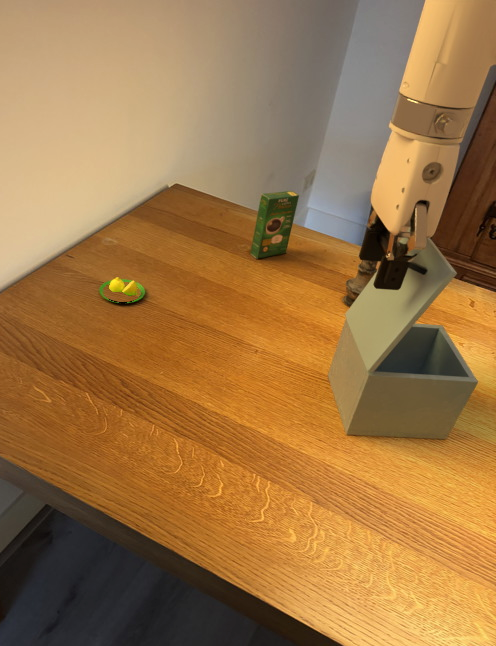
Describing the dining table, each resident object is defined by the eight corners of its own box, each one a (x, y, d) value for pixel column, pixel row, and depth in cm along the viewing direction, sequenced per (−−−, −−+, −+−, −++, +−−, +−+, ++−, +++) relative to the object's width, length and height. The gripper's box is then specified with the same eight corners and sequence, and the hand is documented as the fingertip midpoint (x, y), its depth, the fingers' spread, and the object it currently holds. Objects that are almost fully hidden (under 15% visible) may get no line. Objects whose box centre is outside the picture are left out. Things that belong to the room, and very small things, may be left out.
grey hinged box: (416, 380, 87) (442, 325, 80) (446, 439, 77) (478, 381, 71) (327, 375, 86) (345, 318, 79) (345, 434, 76) (368, 375, 69)
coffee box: (279, 247, 118) (291, 188, 110) (287, 253, 116) (300, 194, 108) (249, 253, 114) (259, 193, 106) (257, 260, 113) (268, 198, 104)
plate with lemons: (150, 286, 100) (150, 273, 98) (137, 309, 94) (138, 295, 92) (107, 278, 100) (107, 265, 99) (92, 300, 94) (92, 286, 92)
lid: (419, 223, 70) (382, 205, 68) (457, 273, 60) (416, 253, 58) (348, 316, 79) (315, 302, 77) (372, 373, 69) (334, 359, 67)
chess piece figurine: (338, 305, 103) (355, 247, 95) (344, 291, 107) (361, 234, 99) (368, 314, 101) (389, 256, 94) (373, 299, 106) (393, 243, 98)
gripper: (502, 149, 49) (431, 314, 61) (434, 99, 62) (387, 243, 74) (423, 141, 48) (366, 310, 60) (371, 92, 62) (333, 239, 73)
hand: (378, 272), depth 67 cm, fingers closed on lid, 6 cm apart
